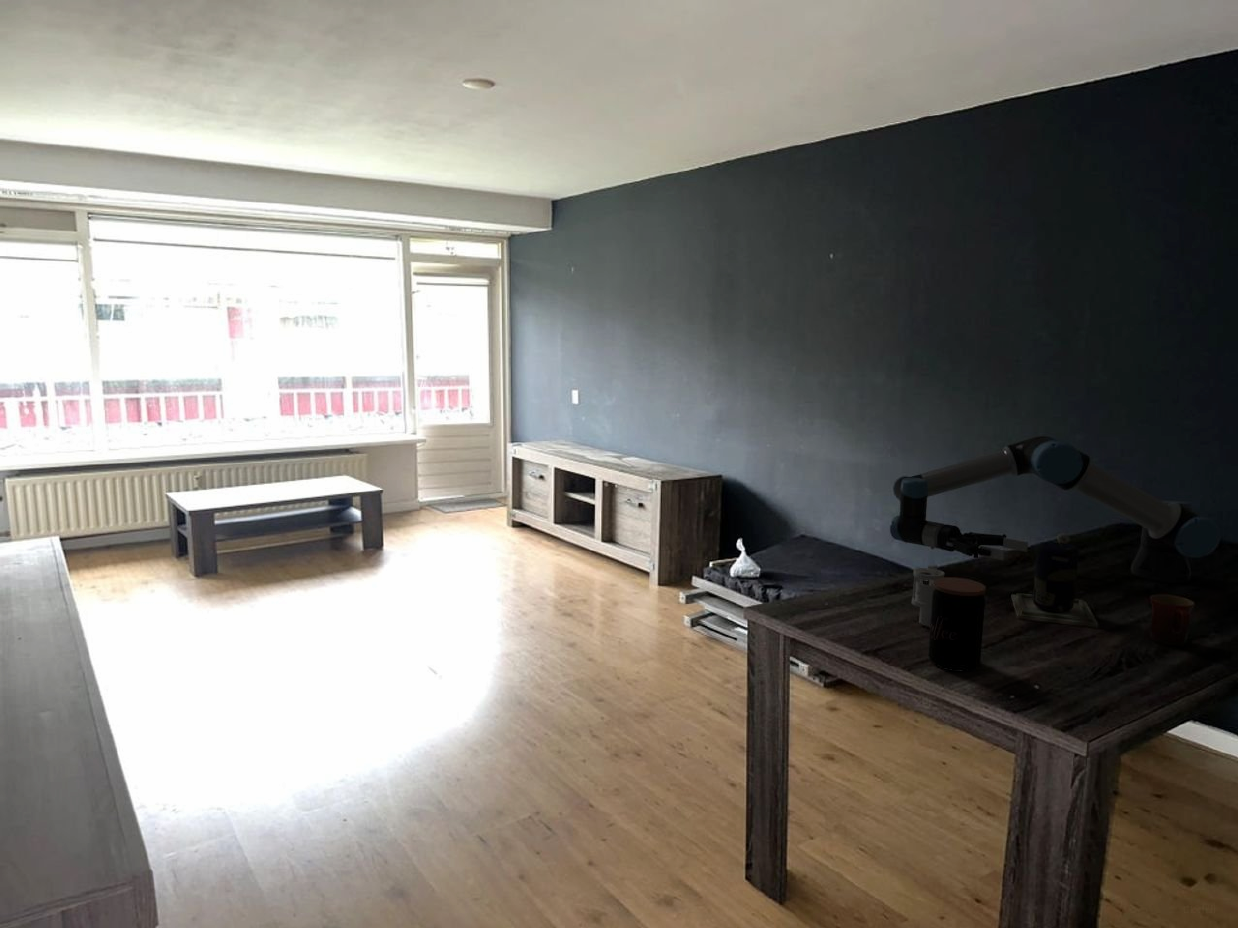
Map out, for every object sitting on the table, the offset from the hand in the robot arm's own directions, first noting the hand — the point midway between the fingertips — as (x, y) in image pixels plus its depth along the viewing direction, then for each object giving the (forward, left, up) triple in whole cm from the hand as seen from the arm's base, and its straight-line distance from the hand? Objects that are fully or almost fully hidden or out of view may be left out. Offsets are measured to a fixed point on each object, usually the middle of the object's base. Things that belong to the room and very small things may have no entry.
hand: (1016, 550), depth 221 cm
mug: (-32, +22, -14) cm, 41 cm away
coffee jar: (+16, +53, -14) cm, 57 cm away
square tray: (-9, +7, -14) cm, 18 cm away
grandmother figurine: (-16, -33, -14) cm, 39 cm away
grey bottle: (+22, +30, -14) cm, 40 cm away
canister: (-9, +7, -13) cm, 17 cm away
